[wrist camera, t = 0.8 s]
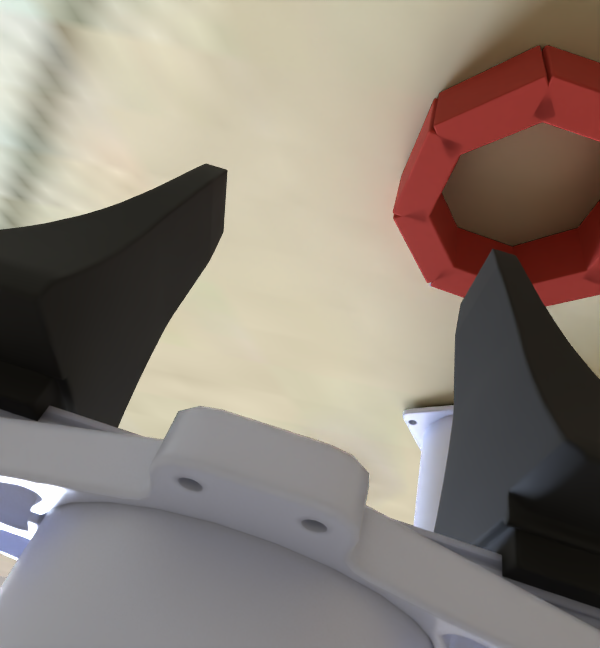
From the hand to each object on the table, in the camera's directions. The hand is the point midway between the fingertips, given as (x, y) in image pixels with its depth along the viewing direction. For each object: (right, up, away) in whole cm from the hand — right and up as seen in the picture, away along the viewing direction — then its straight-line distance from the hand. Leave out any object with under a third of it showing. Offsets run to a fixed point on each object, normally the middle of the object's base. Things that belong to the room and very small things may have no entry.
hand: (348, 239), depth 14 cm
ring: (+8, +4, +7) cm, 11 cm away
